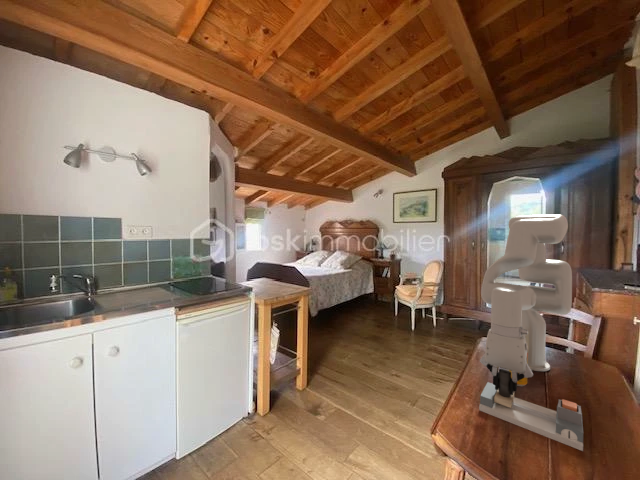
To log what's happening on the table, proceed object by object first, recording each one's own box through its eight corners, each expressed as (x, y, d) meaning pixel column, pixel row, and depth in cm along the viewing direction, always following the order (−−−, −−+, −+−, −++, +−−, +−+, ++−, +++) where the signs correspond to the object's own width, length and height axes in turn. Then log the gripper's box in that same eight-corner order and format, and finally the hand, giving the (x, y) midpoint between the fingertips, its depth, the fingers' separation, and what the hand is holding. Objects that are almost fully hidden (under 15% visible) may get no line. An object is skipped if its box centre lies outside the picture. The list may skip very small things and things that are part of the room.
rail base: (488, 392, 88) (488, 371, 88) (581, 425, 73) (581, 400, 73) (479, 410, 80) (479, 387, 79) (583, 451, 65) (583, 422, 64)
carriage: (498, 394, 84) (499, 364, 84) (514, 399, 82) (514, 369, 81) (494, 404, 79) (494, 373, 79) (510, 411, 76) (511, 378, 76)
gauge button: (562, 411, 73) (562, 399, 73) (576, 416, 71) (576, 403, 71) (562, 416, 71) (562, 403, 70) (576, 422, 69) (577, 408, 69)
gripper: (542, 333, 77) (540, 396, 77) (477, 320, 88) (476, 375, 89) (540, 340, 71) (538, 408, 72) (471, 326, 83) (470, 385, 83)
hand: (504, 389), depth 80 cm, fingers closed on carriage, 3 cm apart
